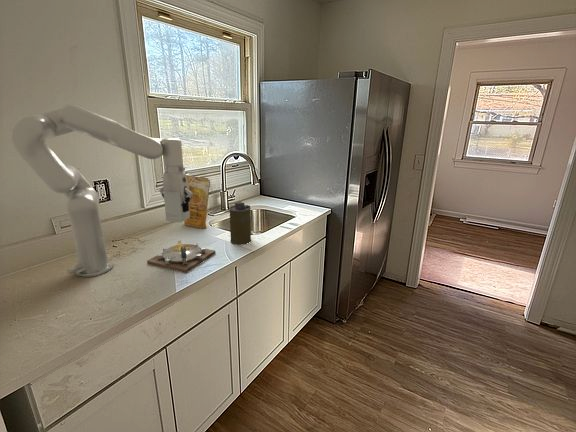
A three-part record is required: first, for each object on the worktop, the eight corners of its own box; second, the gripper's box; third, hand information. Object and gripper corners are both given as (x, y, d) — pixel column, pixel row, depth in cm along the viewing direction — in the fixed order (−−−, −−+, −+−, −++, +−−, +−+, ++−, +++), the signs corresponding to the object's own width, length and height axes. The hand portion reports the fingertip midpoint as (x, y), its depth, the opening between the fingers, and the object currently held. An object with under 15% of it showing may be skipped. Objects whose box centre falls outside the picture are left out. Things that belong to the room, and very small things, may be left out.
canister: (239, 246, 146) (238, 206, 140) (226, 241, 153) (224, 202, 147) (256, 240, 154) (255, 202, 148) (243, 235, 161) (242, 198, 155)
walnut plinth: (186, 273, 121) (185, 265, 120) (147, 263, 128) (146, 256, 127) (215, 253, 139) (215, 246, 138) (179, 246, 146) (179, 239, 144)
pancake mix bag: (188, 221, 181) (184, 174, 173) (213, 226, 173) (210, 177, 165) (179, 224, 175) (175, 176, 167) (205, 230, 167) (202, 179, 159)
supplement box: (181, 222, 127) (179, 193, 123) (165, 221, 129) (162, 192, 125) (190, 217, 134) (188, 189, 130) (175, 216, 136) (172, 188, 132)
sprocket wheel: (209, 260, 128) (208, 247, 126) (159, 268, 121) (158, 254, 119) (201, 243, 145) (200, 231, 143) (157, 249, 137) (156, 237, 135)
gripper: (197, 169, 125) (200, 210, 131) (163, 166, 131) (167, 205, 137) (185, 172, 119) (188, 215, 124) (150, 168, 125) (155, 210, 130)
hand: (177, 210), depth 130 cm, fingers closed on supplement box, 8 cm apart
